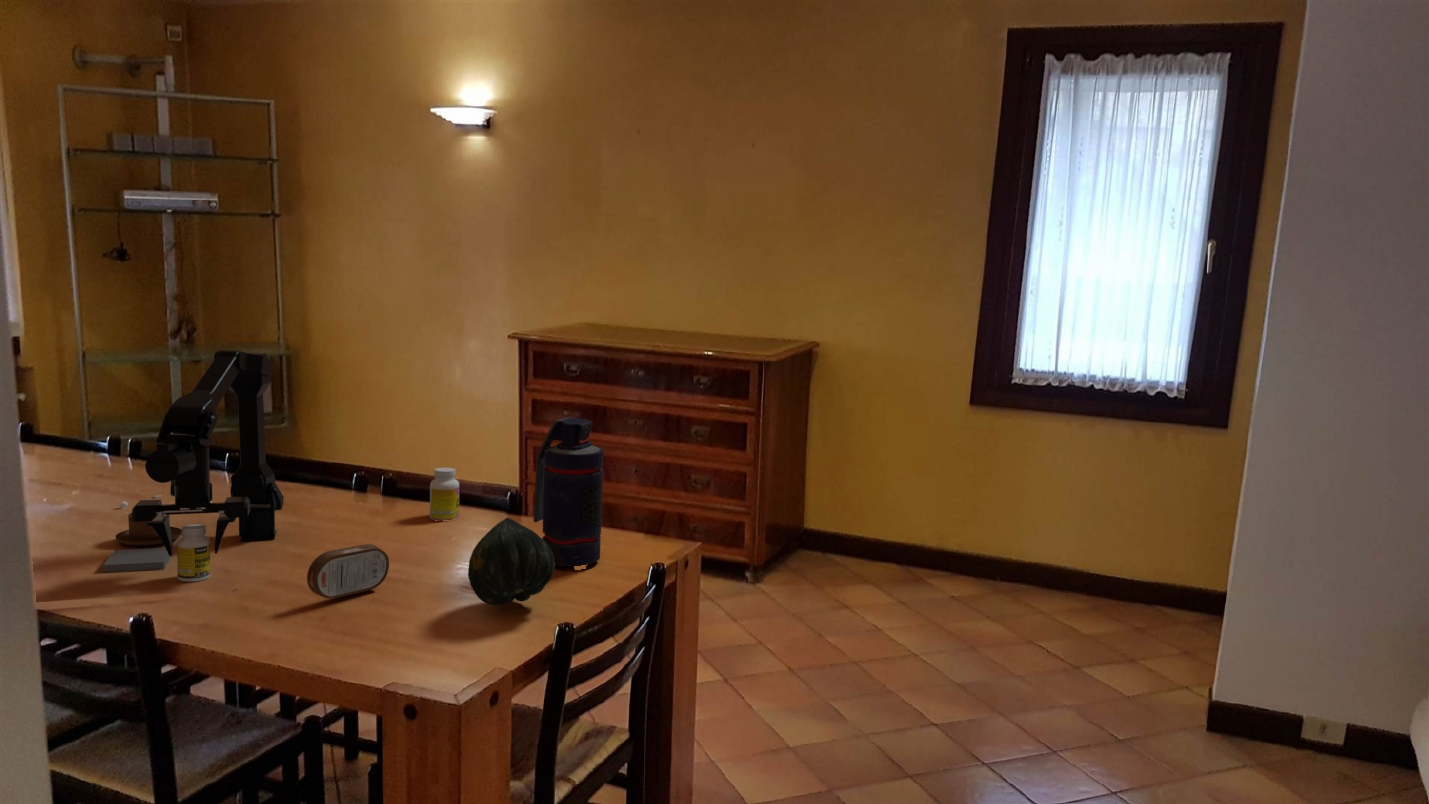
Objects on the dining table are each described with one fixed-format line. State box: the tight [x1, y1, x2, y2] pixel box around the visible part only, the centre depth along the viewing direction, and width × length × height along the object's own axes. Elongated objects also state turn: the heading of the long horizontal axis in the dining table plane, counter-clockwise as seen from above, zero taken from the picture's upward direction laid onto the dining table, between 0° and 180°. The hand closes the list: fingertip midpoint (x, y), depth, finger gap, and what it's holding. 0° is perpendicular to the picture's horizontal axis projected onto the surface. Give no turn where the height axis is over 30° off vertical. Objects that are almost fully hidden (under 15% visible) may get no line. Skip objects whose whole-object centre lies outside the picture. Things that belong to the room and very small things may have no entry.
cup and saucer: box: [115, 512, 182, 547], centre depth 201 cm, size 12×12×6 cm
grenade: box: [533, 416, 604, 567], centre depth 198 cm, size 14×12×30 cm
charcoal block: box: [102, 547, 173, 574], centre depth 187 cm, size 10×10×2 cm
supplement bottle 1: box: [176, 523, 211, 583], centre depth 179 cm, size 5×5×10 cm
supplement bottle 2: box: [429, 467, 460, 521], centre depth 226 cm, size 7×7×13 cm
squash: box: [467, 517, 556, 606], centre depth 172 cm, size 14×15×15 cm
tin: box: [306, 543, 390, 600], centre depth 175 cm, size 15×3×8 cm, turn 141°
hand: (193, 554), depth 179 cm, fingers open, 7 cm apart
